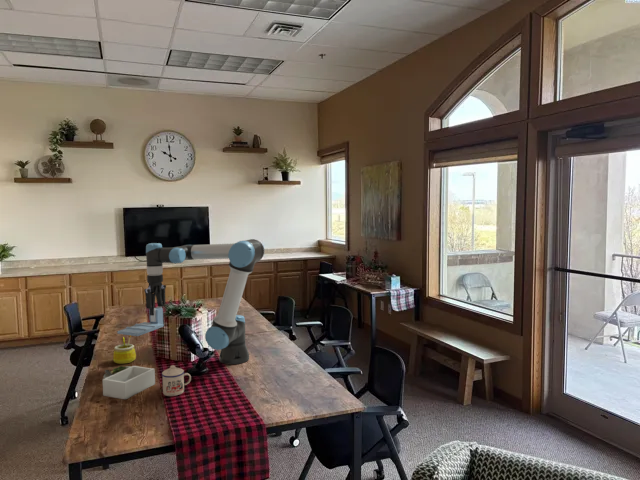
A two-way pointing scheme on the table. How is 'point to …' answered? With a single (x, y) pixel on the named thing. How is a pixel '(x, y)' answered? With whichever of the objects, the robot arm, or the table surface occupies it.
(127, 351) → the mug
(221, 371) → the table surface
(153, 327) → the light blue l-shaped piece
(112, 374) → the salad plate
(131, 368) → the tub
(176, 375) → the teacup with lid
